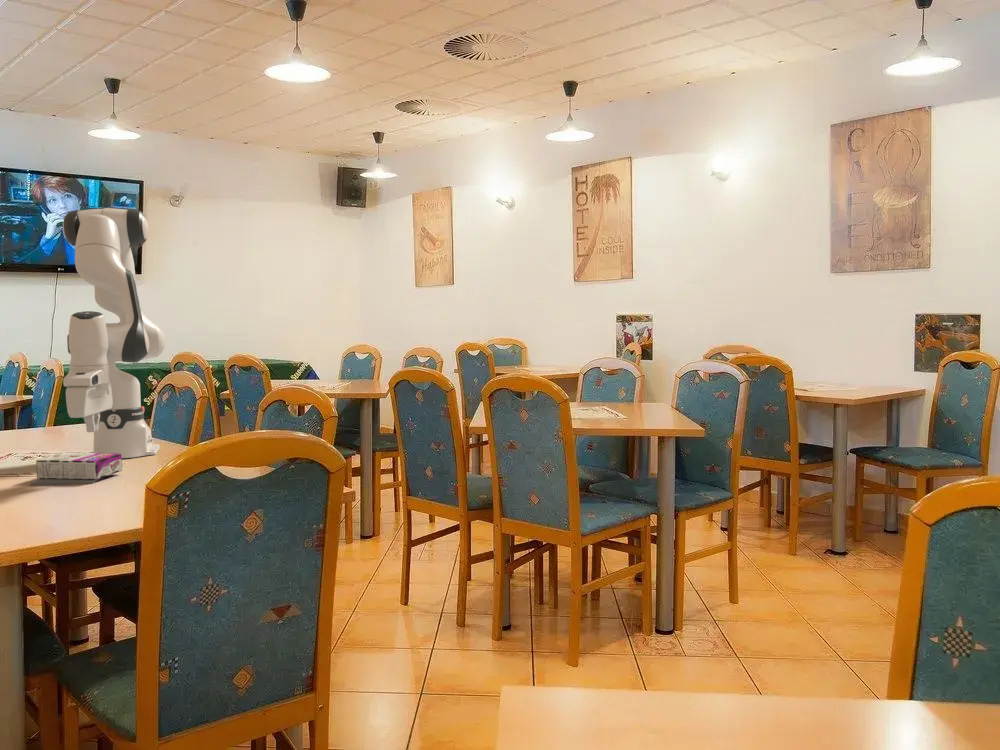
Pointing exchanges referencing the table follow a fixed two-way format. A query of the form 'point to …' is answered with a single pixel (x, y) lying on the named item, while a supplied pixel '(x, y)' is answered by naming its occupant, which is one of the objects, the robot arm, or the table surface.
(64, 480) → the slate mat
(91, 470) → the candy bar box
